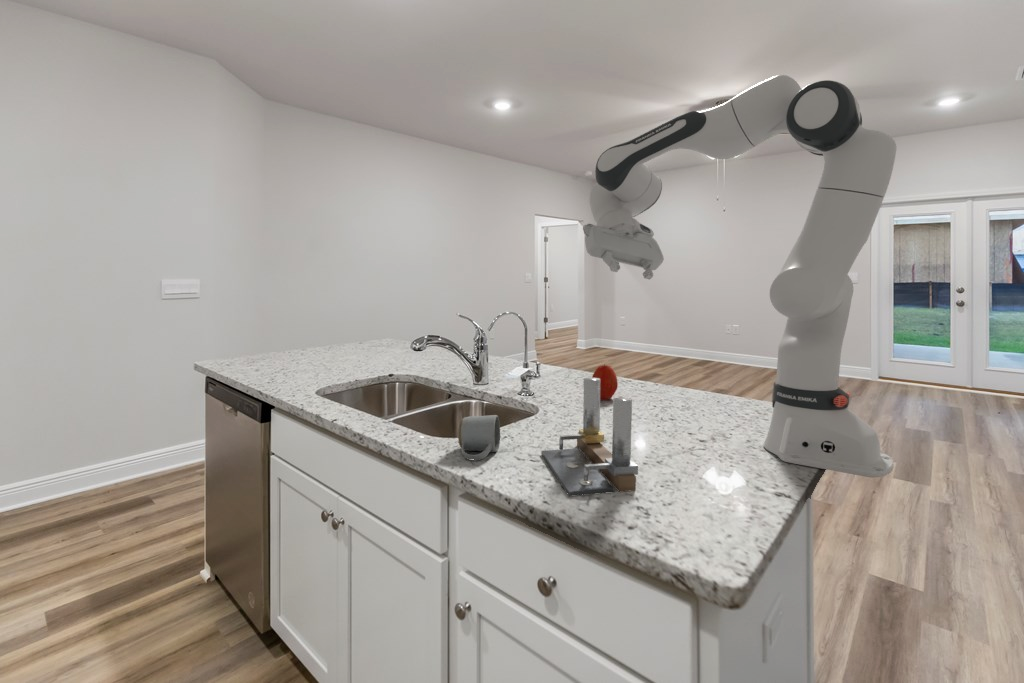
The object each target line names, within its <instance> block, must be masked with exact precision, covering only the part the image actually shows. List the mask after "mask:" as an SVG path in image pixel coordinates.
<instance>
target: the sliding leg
mask: <svg viewBox="0 0 1024 683" xmlns="http://www.w3.org/2000/svg"><path fill="white" fill-rule="evenodd" d="M582 408H583V411H582V413H583V416H582V417H583V420H582V423H583V424H582V428H583V429H580V428H579V429H578V434H563V435H559V439H558V440H559V445H558V446H559V447H558V448H559V449H558V450H562V449H564V441H567V440H568V441H570V440H577V439H582V441H583V442H584V443H585V444H587V443H601V444H602V443H605V434H604V433H603V432H602V431H601V428H600V427H601V416H600V415H601V400H600V379H599V378H592V377H585V378H583V407H582Z"/></svg>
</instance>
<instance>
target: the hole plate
mask: <svg viewBox="0 0 1024 683" xmlns="http://www.w3.org/2000/svg"><path fill="white" fill-rule="evenodd" d="M540 451H541V454H542V455H541V456H542V458H543V457H544V458H543V459H544V461H545V460H546V461H545V462H546V463H547V465H548V467H549V468H550V470H551V471H552V472H553V474H554V476H555V477H556V479H557V478H558V479H557V480H558V482H559V481H560V482H559V483H560V485H561V484H562V485H561V486H562V488H563V487H564V488H563V489H564V491H565V490H566V491H565V492H566V494H567V493H568V494H567V495H568V497H571V496H570V495H577V496H585V495H584V494H589V495H596V494H595V493H600V494H607V493H606V492H612V493H615V487H614V485H613V484H612V483H611V482H610V481H609V480H608V479H607V478H606V477H605V476H604V474H603V473H602V472H601V471H600V470H599V469H596V470H588V481H584V465H588V464H593V462H592V461H591V460H590V459H589V458H588V457H587V456H586V455H585V454H584V452H583V451H582V450H581V449H580V448H579V447H577V448H563V449H562V450H561V449H552V450H551V449H549V450H548V449H547V450H540ZM582 494H583V495H582Z"/></svg>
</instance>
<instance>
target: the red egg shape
mask: <svg viewBox="0 0 1024 683" xmlns="http://www.w3.org/2000/svg"><path fill="white" fill-rule="evenodd" d="M591 378H599V379H600V399H601V400H600V401H607V400H610V399H612V397H613V396H614V394H616V391H617V390H618V387H619V384H618V377H617V374H616V373H615V371H614V369H613V368H612V366H609V365H606V363H604V364H603V365H599V366H598V367H597V368H596V369H595V371H594V372H593V374H592V376H591Z"/></svg>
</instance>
